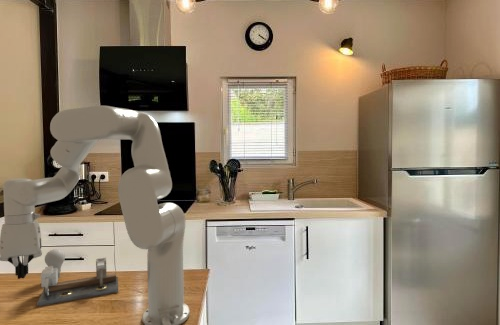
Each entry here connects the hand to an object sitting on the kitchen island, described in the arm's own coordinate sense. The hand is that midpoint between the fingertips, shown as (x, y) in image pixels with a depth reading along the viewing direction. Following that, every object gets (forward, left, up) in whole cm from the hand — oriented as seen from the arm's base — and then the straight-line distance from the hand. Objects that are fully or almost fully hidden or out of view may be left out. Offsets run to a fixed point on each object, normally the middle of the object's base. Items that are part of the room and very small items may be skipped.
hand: (22, 276), depth 97 cm
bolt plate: (-3, -16, -7) cm, 18 cm away
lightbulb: (+11, -7, -7) cm, 15 cm away
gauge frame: (-2, -16, -6) cm, 17 cm away
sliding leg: (-2, -7, -5) cm, 9 cm away
